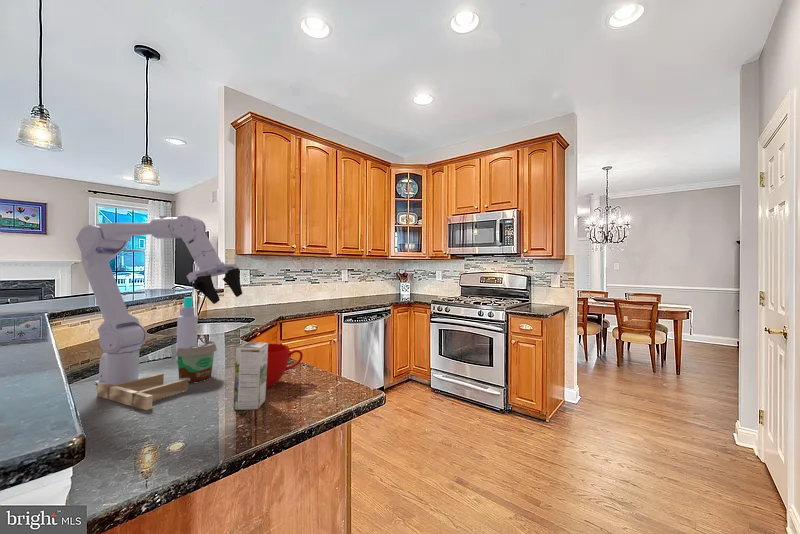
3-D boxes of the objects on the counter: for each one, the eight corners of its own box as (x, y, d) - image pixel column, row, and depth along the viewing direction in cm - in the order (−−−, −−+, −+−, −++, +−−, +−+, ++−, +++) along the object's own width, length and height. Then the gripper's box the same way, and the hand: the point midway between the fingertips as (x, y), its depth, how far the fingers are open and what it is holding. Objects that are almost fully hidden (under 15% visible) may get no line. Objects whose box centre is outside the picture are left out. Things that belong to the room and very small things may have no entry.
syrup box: (241, 401, 86) (243, 341, 87) (266, 401, 87) (268, 341, 87) (232, 410, 81) (234, 346, 81) (259, 410, 81) (261, 346, 81)
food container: (194, 387, 96) (195, 350, 96) (174, 385, 97) (175, 348, 97) (225, 374, 108) (226, 341, 108) (207, 372, 109) (208, 340, 109)
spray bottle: (175, 363, 119) (177, 298, 120) (176, 359, 125) (178, 296, 125) (196, 361, 122) (198, 297, 123) (196, 357, 127) (198, 296, 128)
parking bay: (97, 395, 88) (97, 383, 88) (150, 381, 99) (151, 371, 99) (146, 410, 80) (147, 396, 80) (199, 393, 91) (199, 381, 91)
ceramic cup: (306, 386, 99) (307, 350, 99) (239, 394, 91) (240, 355, 91) (298, 373, 110) (298, 341, 110) (238, 380, 103) (239, 345, 103)
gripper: (188, 251, 89) (214, 298, 88) (234, 245, 102) (257, 286, 101) (173, 265, 92) (198, 310, 91) (220, 257, 105) (242, 297, 104)
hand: (228, 298), depth 96 cm, fingers open, 7 cm apart
